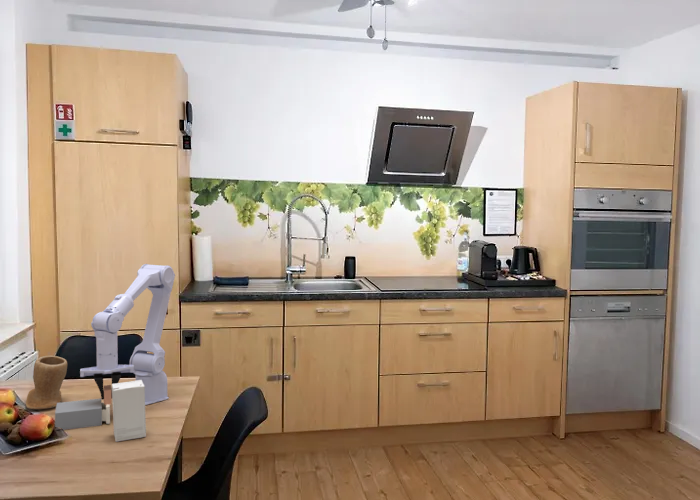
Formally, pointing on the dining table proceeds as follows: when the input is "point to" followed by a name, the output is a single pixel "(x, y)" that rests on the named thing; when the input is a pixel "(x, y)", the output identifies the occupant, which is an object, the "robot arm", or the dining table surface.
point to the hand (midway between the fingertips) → (107, 397)
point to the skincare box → (129, 410)
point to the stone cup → (47, 382)
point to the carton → (78, 414)
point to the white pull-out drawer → (106, 404)
